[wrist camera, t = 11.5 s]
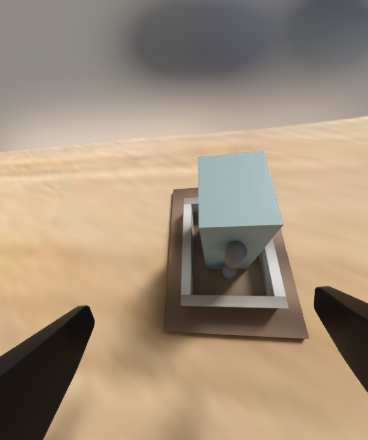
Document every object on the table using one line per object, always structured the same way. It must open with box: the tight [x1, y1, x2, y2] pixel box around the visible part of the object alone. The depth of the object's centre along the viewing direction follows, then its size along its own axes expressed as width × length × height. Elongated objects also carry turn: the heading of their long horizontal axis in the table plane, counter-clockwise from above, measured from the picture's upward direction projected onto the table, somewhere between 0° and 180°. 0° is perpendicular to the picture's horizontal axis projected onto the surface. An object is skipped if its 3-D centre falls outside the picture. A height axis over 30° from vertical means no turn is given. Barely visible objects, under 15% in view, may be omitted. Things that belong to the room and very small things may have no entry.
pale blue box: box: [198, 151, 284, 280], centre depth 14 cm, size 6×4×10 cm, turn 178°
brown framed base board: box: [164, 188, 309, 339], centre depth 17 cm, size 16×12×3 cm
